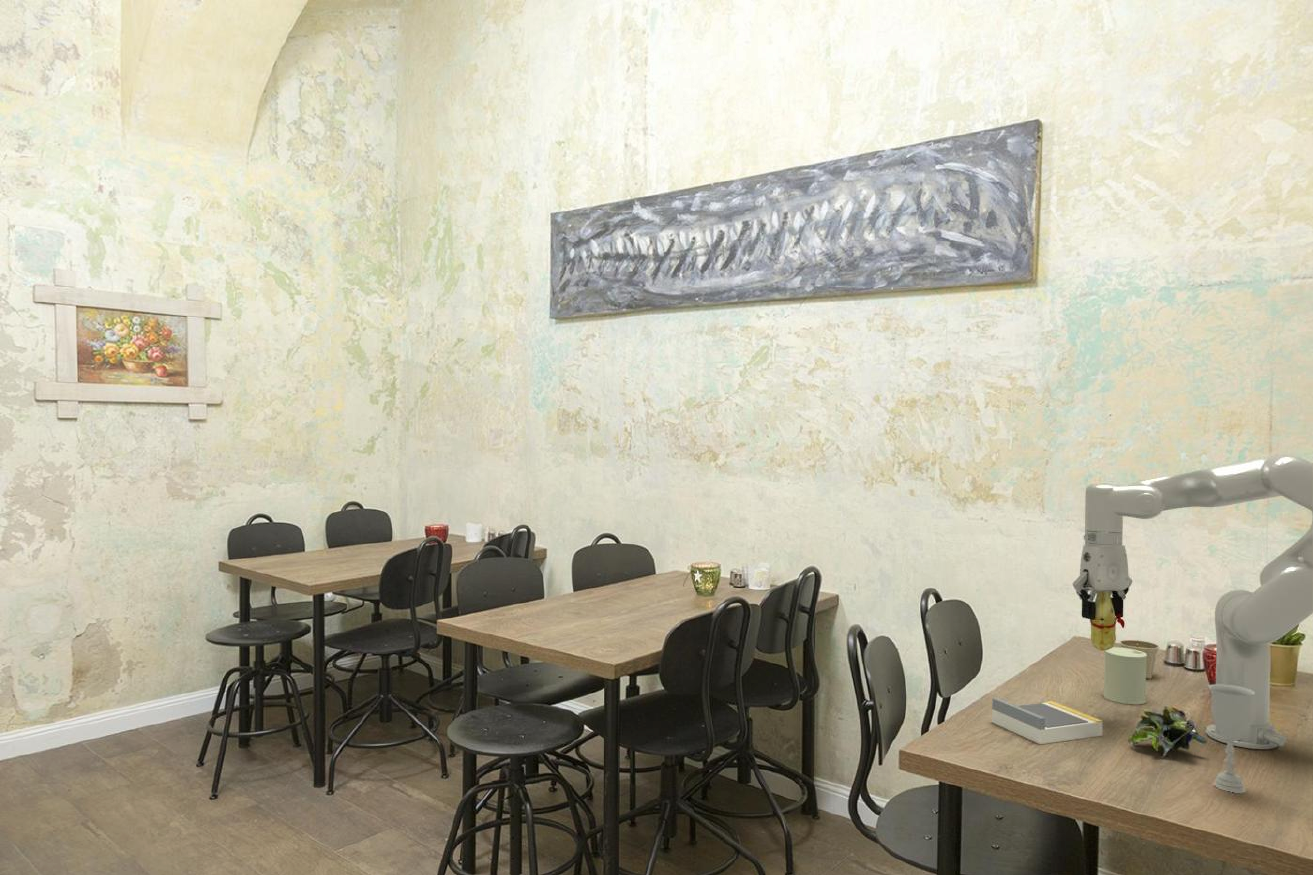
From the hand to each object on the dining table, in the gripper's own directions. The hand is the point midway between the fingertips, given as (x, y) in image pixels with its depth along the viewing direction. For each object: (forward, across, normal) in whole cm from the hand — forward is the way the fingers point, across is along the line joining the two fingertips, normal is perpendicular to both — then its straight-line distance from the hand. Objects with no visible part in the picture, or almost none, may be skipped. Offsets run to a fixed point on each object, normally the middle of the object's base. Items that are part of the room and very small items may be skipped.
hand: (1102, 616), depth 192 cm
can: (+24, +20, +11) cm, 33 cm away
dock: (+24, -16, 0) cm, 28 cm away
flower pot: (+24, +41, +25) cm, 54 cm away
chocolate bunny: (+7, +1, 0) cm, 7 cm away
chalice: (+24, -7, -35) cm, 43 cm away
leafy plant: (+24, -3, -19) cm, 31 cm away
